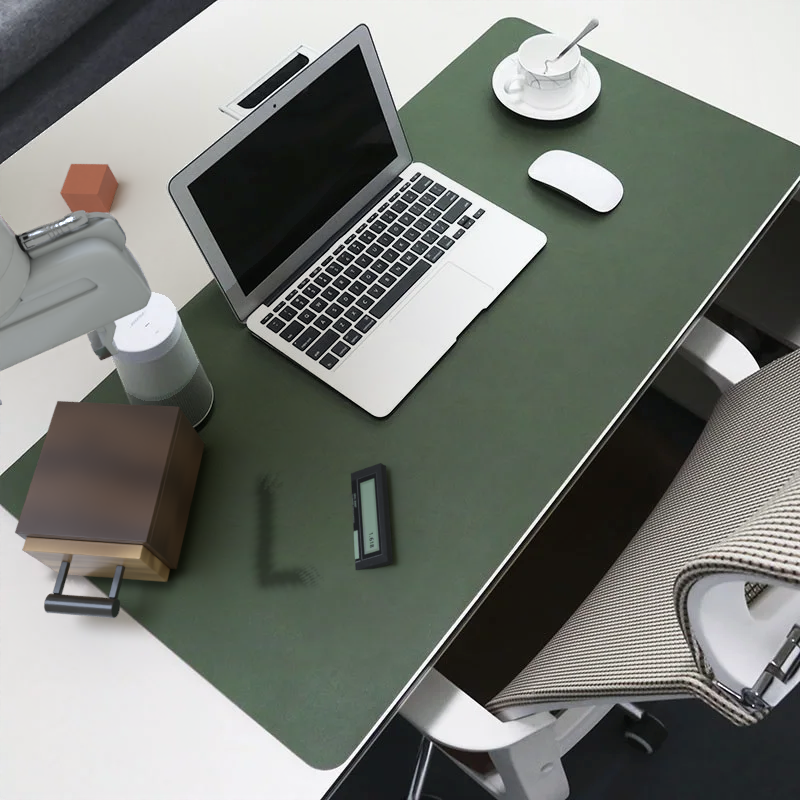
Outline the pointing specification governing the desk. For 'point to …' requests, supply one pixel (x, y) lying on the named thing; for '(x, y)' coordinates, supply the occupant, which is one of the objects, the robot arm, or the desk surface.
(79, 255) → the robot arm
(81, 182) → the block
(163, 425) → the cabinet
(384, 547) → the calculator
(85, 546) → the drawer
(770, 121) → the desk surface
